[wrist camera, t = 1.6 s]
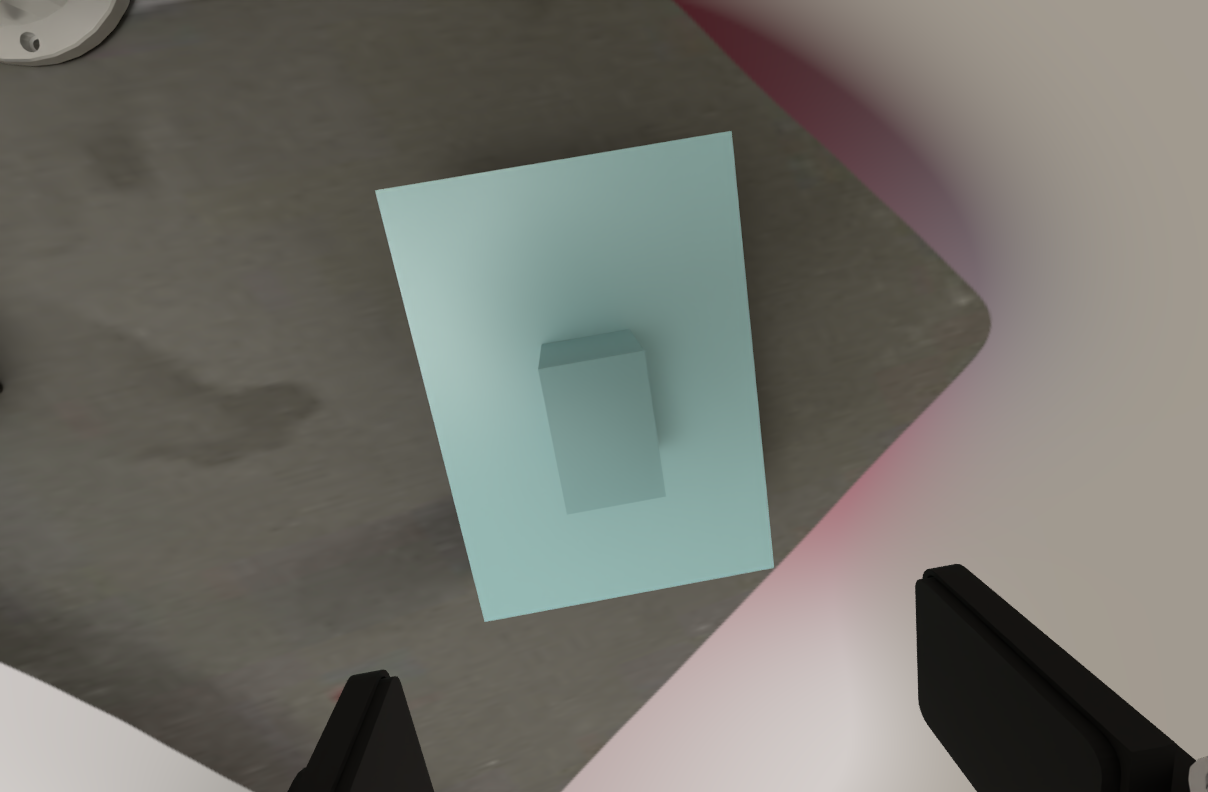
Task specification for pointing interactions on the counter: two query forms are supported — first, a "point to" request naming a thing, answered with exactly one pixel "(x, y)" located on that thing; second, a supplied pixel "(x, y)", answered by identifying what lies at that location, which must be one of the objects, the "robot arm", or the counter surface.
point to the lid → (589, 370)
